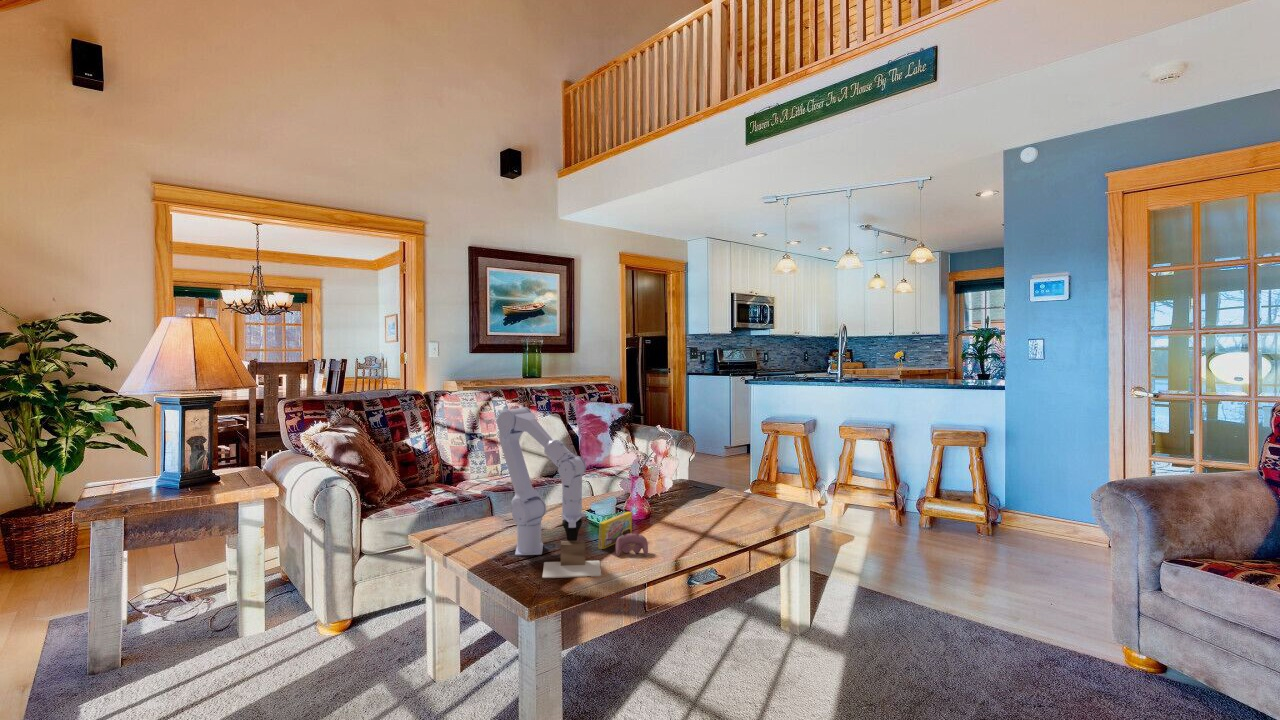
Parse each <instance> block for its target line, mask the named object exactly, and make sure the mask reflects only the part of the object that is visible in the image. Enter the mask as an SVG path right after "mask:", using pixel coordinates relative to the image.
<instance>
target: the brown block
mask: <svg viewBox="0 0 1280 720" xmlns="http://www.w3.org/2000/svg"><path fill="white" fill-rule="evenodd" d="M585 561H586V540H584V539H580V540H578V539H577V541H567V540H560V562H561V566H568V565H585Z"/></svg>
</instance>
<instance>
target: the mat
mask: <svg viewBox="0 0 1280 720" xmlns="http://www.w3.org/2000/svg"><path fill="white" fill-rule="evenodd" d="M587 576H591V577H602V571H601V563H600V560H585V565H568V566H561V561H544V562H543V570H542V576H541V577H542V579H556V578H558V579H559V578H562V579H563V578H587Z"/></svg>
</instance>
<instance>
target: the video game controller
mask: <svg viewBox="0 0 1280 720" xmlns="http://www.w3.org/2000/svg"><path fill="white" fill-rule="evenodd" d="M631 544H632V545H634V546H633V548H632V550H633V552H634V553H635V554H639V553H641V550H642V551H643V555H644V557H647V556H648V554H649V545H648V544H649V543H648V540H647V538H646V537H645V536H644V535H642V534H638V533H631V534H625V535H621V536H620V537H618V538H617V540H616V544H615V555H616V557H618V556H619V557H620V555H621V552H622V551H623V553H625V554H628V553H630V552H631V547H630V545H631Z"/></svg>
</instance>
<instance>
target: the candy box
mask: <svg viewBox="0 0 1280 720" xmlns="http://www.w3.org/2000/svg"><path fill="white" fill-rule="evenodd" d="M632 525H633V512H632V511H625V512H623V513H620V514H619V515H616V516H614V517H611V518H608V519H606V520H602V521H601V522H599V524H598V548H597V549H598V550H602V549H603V550H605V549H607V548H609V547H611V546H614V545H616V540H617V538H618V537H620V536H621V535H625V534H632V531H633V530H632V529H633V528H632V527H633V526H632Z"/></svg>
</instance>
